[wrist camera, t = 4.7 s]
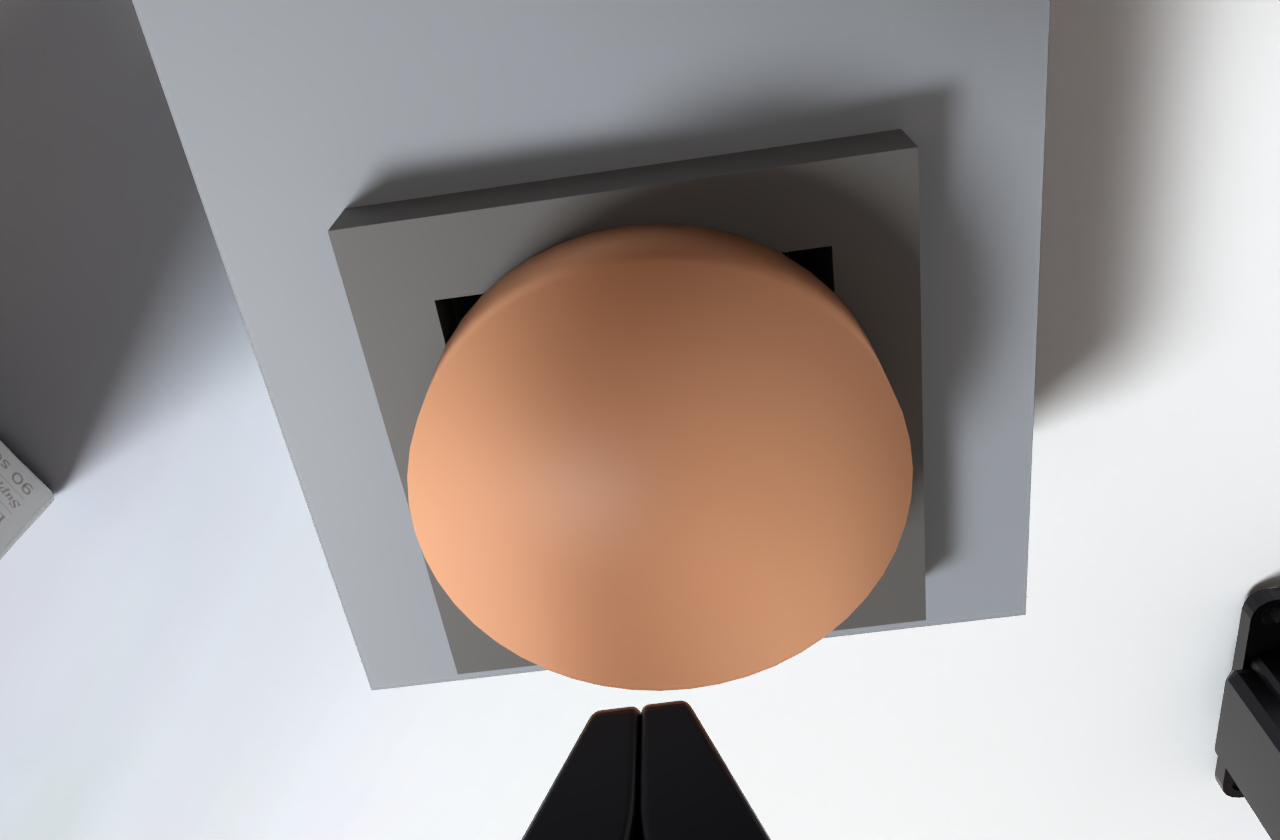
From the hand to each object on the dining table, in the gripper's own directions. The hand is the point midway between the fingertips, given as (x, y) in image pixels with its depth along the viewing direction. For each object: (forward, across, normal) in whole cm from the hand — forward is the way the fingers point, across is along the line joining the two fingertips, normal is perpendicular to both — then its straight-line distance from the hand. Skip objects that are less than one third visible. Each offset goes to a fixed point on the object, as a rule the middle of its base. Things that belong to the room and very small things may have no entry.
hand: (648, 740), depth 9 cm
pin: (+12, 0, +1) cm, 12 cm away
